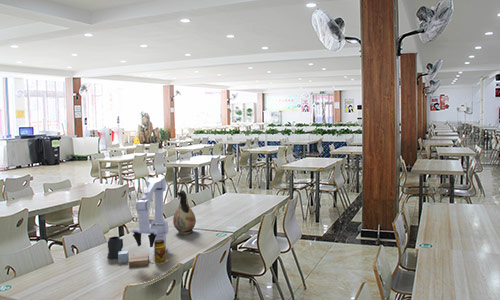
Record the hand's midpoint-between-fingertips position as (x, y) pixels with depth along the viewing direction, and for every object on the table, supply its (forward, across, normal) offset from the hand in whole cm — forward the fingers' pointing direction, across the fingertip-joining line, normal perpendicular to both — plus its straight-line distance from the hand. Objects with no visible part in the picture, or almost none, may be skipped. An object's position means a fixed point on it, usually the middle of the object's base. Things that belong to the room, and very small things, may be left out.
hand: (145, 246), depth 224 cm
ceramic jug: (+11, -6, +58) cm, 60 cm away
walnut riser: (+10, -5, +1) cm, 11 cm away
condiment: (+10, +5, +6) cm, 13 cm away
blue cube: (+10, -16, +2) cm, 19 cm away
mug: (+10, -25, +8) cm, 28 cm away
